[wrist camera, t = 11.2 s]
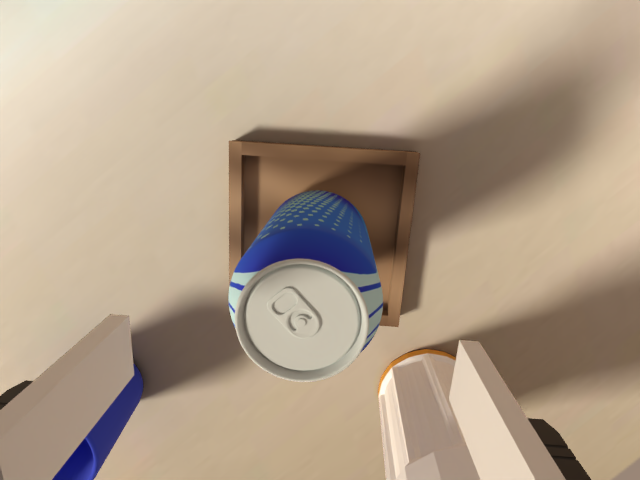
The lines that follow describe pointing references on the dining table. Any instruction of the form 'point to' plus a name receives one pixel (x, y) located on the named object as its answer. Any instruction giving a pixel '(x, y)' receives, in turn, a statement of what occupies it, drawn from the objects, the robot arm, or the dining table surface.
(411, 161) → the tray
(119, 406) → the mug
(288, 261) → the beer can
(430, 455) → the cup
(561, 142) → the dining table surface
